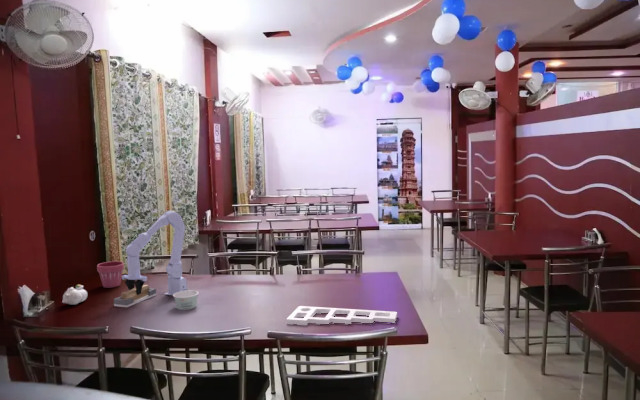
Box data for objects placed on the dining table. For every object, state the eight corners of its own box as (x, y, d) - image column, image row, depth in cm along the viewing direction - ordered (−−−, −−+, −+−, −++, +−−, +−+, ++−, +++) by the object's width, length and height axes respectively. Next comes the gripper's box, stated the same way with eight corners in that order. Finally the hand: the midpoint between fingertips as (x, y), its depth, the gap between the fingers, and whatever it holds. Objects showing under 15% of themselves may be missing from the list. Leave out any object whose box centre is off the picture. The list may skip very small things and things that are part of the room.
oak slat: (149, 294, 247) (148, 284, 247) (126, 303, 232) (126, 293, 232) (144, 293, 248) (144, 284, 248) (122, 302, 234) (121, 293, 233)
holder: (397, 317, 206) (397, 311, 205) (392, 333, 188) (392, 326, 188) (299, 311, 218) (299, 305, 217) (286, 325, 200) (286, 319, 200)
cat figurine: (83, 281, 246) (63, 285, 231) (95, 289, 244) (75, 294, 229) (74, 296, 246) (54, 302, 231) (86, 304, 245) (66, 310, 230)
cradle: (156, 295, 249) (155, 288, 248) (126, 307, 229) (126, 300, 229) (144, 294, 252) (143, 287, 251) (114, 306, 232) (113, 299, 232)
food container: (176, 312, 220) (175, 298, 219) (171, 305, 230) (170, 292, 230) (202, 308, 225) (201, 294, 225) (196, 301, 236) (195, 288, 235)
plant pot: (130, 284, 273) (128, 262, 272) (108, 290, 261) (106, 267, 260) (115, 281, 280) (113, 260, 279) (93, 287, 269) (91, 265, 267)
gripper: (116, 268, 238) (118, 294, 239) (139, 270, 232) (141, 297, 234) (127, 265, 244) (128, 291, 245) (149, 267, 239) (151, 293, 240)
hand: (135, 293), depth 240 cm, fingers open, 4 cm apart
